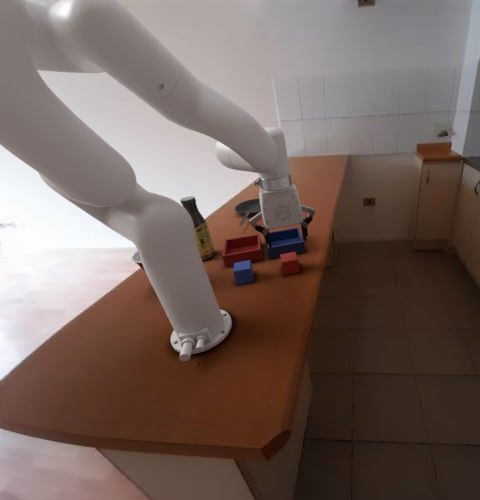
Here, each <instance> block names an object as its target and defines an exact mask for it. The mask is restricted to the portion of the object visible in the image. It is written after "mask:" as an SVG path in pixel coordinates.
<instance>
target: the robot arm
mask: <svg viewBox="0 0 480 500" xmlns="http://www.w3.org/2000/svg"><path fill="white" fill-rule="evenodd" d="M39 71H41V72H42V71H44V72H56V73H71V74H72V73H73V74H75V73H76V74H102V73H105V74H107V75H108V76H110V77H111V78H113V80H115V81H117V82H118V83H119V84H121V85H122V86H123V87H124V88H126V89H127V90H128V91H129V92H131V93H132V94H134V95H135V96H136V97H137V98H138V99H140V100H141V101H143V103H145V104H146V105H148V106H149V107H150V108H151V109H152V110H154V111H156V112H157V113H158V114H159V115H161V117H163V118H164V119H166V120H168V121H170V122H171V123H174V124H175V125H177V126H180V127H182V128H185V129H187V130H190V131H193V132H196V133H199V134H202V135H205V136H206V137H209V138H211V139H213V140H215V141H216V143H215V146H214V154H215V157H216V159H217V161H218V162H219V163H220V164H221V165H222V166H224V167H225V168H228V169H230V170H234V171H241V172H250V173H255V174H258V177H259V178H257V179H256V180H253V184H254V187H260V188H259V191H258V194H259V197H258V198H260V206H261V212H259V213H258V214H257V215H255V216H254V217H250V219H249V221H248V223H249V225H251V227H252V228H253V229H254V230H255V231H257V232H258V233H259V234H261V235H262V236H263V238H264V242H265V245H267V244H269V248H271V247H272V243H271V239H270V234H269V232H270V230H277V229H283V228H288V227H293V226H297V225H300V229H301V230H300V231H301V236H302V239H303V242H307V237H309V231H308V227H309V225H310V223H311V222H313V218H314V216H315V214H316V209H315V208H314V207H310V206H308V205H304V204H301V199H300V195H299V192H298V189H297V187H296V184H294V183H293V181H292V176H291V170H290V169H291V168H290V163H289V156H288V151H287V145H286V138H285V133H284V131H283V129H282V128H281V127H277V126H266V127H263V126H262V124H260V122H259V121H258V120H257V119H256V118H254V116H252V114H250V113H249V112H247V110H246V109H244V108H242V106H240V105H238V104H237V103H235V102H233V101H232V100H230V99H229V98H227V97H226V96H225V95H222V93H220V92H218V91H217V90H215V89H213V88H212V87H210V86H208V85H207V84H205V83H203V82H202V81H201V80H200V79H198V78H197V77H195V75H194V74H193V73H192V72H191V71H190V70H189V69H188V68H187V67H186V66H184V64H183V63H182V62H180V61H179V59H178V58H177V57H176V56H174V54H172V52H170V50H169V49H168V48H167V47H166V46H164V45H163V44H162V42H160V41H159V39H157V38H156V37H155V35H154V34H153V33H151V32H150V31H149V30H148V29H147V28H146V27H145V25H144V24H142V22H140V21H139V20H138V19H137V18H136V17H135V15H133V14H132V13H131V12H130V11H129V10H128V9H127V8H126V7H125V6H124V5H123V4H122V3H120V2H119V1H118V0H58V1H55V0H0V146H1V147H3V148H4V149H5V150H6V151H8V152H9V153H11V154H12V155H13V156H14V157H16V158H17V159H19V160H20V161H22V162H23V164H26V165H27V166H28V167H30V168H32V169H33V170H34V171H36V172H37V173H38V175H39V176H40V178H41V179H42V181H43V182H44V183H45V185H46V186H47V187H49V188H50V189H51V190H52V191H54V192H55V193H57V194H58V195H59V196H61V197H62V198H64V199H65V200H67V201H68V202H70V203H71V204H73V205H74V206H76V207H77V208H79V209H80V210H82V211H83V212H85V213H86V214H87V215H90V217H92V218H93V219H95V220H97V221H98V222H100V223H102V224H103V225H104V226H106V227H107V228H109V229H110V230H112V231H113V232H115V233H116V234H118V235H120V236H122V237H123V238H124V239H127V240H128V241H130V242H132V244H133V245H134V246H135V248H136V249H137V251H138V252H139V254H140V257H141V260H142V264H143V267H144V270H145V272H146V273H145V272H144V273H145V274H146V276H147V278H148V281H149V282H150V284H151V287H152V288H153V290H154V293H155V294H156V296H157V299H158V301H159V302H160V304H161V307H162V309H163V310H164V312H165V315H166V317H167V318H168V321H169V322H170V325H171V326H172V328H173V331H172V333H171V335H170V344H171V346H172V349H173V350H175V351H176V352H177V353H179V357H178V359H179V361H181V362H188V361H189V360H190V359H191V356H192V355H196V354H200V353H203V352H206V351H209V350H211V349H213V348H214V347H216V346H217V345H219V344H220V343H221V342H223V341H224V340H225V339H226V337H227V336H228V335H229V333H230V332H231V331H232V330H231V329H232V326H233V321H232V318H231V315H230V314H229V313H228V312H227V311H226V310H223V309H220V306H219V303H218V301H217V298H216V295H215V292H214V289H213V286H212V284H211V281H210V278H209V276H208V275H209V274H208V273H207V270H206V267H205V265H204V262H203V260H202V259H201V256H200V253H199V250H198V246H197V241H196V235H195V228H194V224H193V221H192V218H191V216H190V214H189V213H188V212H187V210H186V209H185V208H184V207H183V205H182V204H181V203H180V202H178V201H176V200H174V199H173V198H170V197H168V196H165V195H162V194H158V193H155V192H150V191H148V190H147V189H146V188H144V187H143V186H141V184H139V183H138V181H137V177H136V173H135V171H134V169H133V167H132V165H131V164H130V162H129V161H128V160H127V159H126V158H125V157H124V156H123V155H122V154H121V153H120V152H119V151H117V150H116V149H115V148H113V146H111V144H109V143H108V142H107V141H106V140H104V138H102V137H101V136H100V135H99V134H97V133H96V131H94V129H92V128H91V127H90V126H89V125H88V124H86V122H84V121H83V120H82V119H81V118H80V117H78V116H77V114H75V112H74V111H72V110H71V109H70V108H69V107H68V106H67V105H66V104H65V103H64V102H63V101H62V100H61V98H59V97H58V95H56V94H55V93H54V92H53V90H52V89H51V88H50V87H49V86H48V84H47V83H46V82H45V80H44V79H43V78H42V75H41V74H40V72H39ZM303 212H304V213H308V214H307V216H305V218H304V216H303V215H304V214H303ZM261 219H262V221H263V225H261V224H259V223H258V221H260V220H261ZM144 270H143V271H144Z"/></svg>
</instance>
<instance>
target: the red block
mask: <svg viewBox="0 0 480 500" xmlns="http://www.w3.org/2000/svg"><path fill="white" fill-rule="evenodd" d="M297 255H298V254H296V252H291V253H286V254H280V256H281V257H280V261H281V266H282V271H283V276H289V275H293V274H299V273H300V266H299V265H300V264H299V259H298V256H297Z"/></svg>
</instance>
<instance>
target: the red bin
mask: <svg viewBox="0 0 480 500" xmlns="http://www.w3.org/2000/svg"><path fill="white" fill-rule="evenodd" d="M262 245H263V244H262V239H261V234H260V233H256V234H251V235H246V236H239V237H232V238H227V239H226V238H225V239H224V245H223V249H222V260H223V263H224V267H225V268H229V267H234V263H237V262H242V261H248V260H250V261H251V263H255V262H262V261H263V258H264V257H263V246H262Z"/></svg>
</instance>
